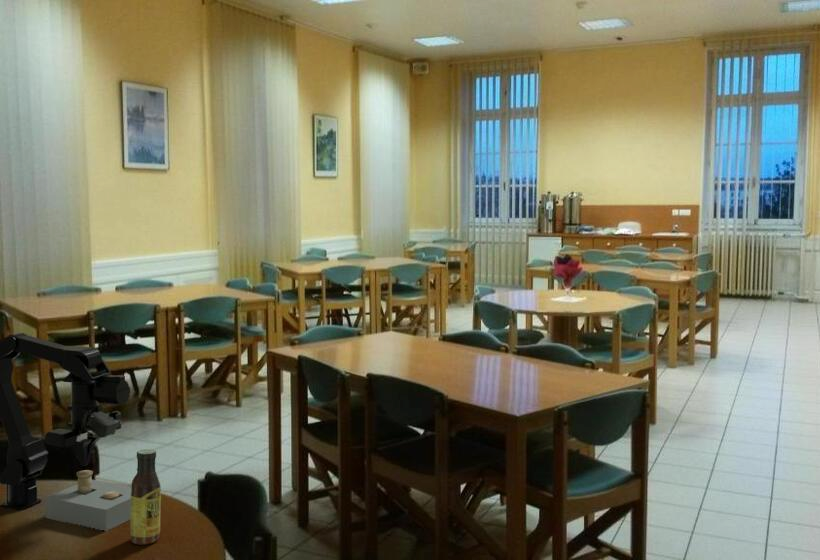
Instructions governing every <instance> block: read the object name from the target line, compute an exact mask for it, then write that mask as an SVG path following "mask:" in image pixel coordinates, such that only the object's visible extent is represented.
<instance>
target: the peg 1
mask: <svg viewBox="0 0 820 560" xmlns="http://www.w3.org/2000/svg"><path fill="white" fill-rule="evenodd" d="M93 473H94V471H93V470H89V469H85V470H79V471H77V472H76V477H77V484H78V494H83V495H86V494H89V493H91V492H92V476H93Z"/></svg>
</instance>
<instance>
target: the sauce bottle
mask: <svg viewBox="0 0 820 560" xmlns="http://www.w3.org/2000/svg"><path fill="white" fill-rule="evenodd" d="M136 459H137V468H136V471H137V473H136V474H135V476H134V477H133V479H132V481H131V486H130V487H131V488H132V489H131V513H130V520H129V521H130V523H129V524H130V525H129V527H130V528H129V535H130V541H131V543H133V544H135V545H140V546H144V545H150V544H153V543H156V542H157V541H158V540H159V538H160V533H161V503H162V502H161V499H162V498H161V495H162V494H161V493H162V486H161V482H160V479H159V477H158V474H157V470H156V459H157V451H156V450H155V449H152V448H146V449H140V450H138V451H136Z"/></svg>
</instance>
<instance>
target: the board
mask: <svg viewBox="0 0 820 560" xmlns="http://www.w3.org/2000/svg"><path fill="white" fill-rule="evenodd" d="M131 489H132V488H131V486H128V485H124V484H118V483H112V482H108V481H103V480H102V481H101V480H99V479H92V492H91V493H89V494H86V495H83V494H78V483H77V484H75V485H73V486H70V487H68V488H65V489H62V490H60V491H58V492H55V493H52V494H50V495H47V496H46V497H45V519H50V520H53V521H58V522H63V523H66V522H69V523H68V524H71V523H73V524H72V525H75V524H78V525H77V526H80V525H82V526H81V527H84V526H86V527H85V528H89V527H91V528H90V529H93V528H95V530H98V529H99V531H102V530H104V531H103V532H108V531H110V530H112V529H114V528H116V527H118V526H119V525H122V524H124V523H126V522H128V521H130V513H131ZM107 492H119V497H118V498H116V499H114V500H107V499H104V498H103V494H104V493H107ZM109 529H110V530H109Z"/></svg>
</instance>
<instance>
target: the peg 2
mask: <svg viewBox="0 0 820 560" xmlns="http://www.w3.org/2000/svg"><path fill="white" fill-rule="evenodd" d="M118 497H119V492H107V493H104V494H103V498H104V499H107V500H114V499H116V498H118Z"/></svg>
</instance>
